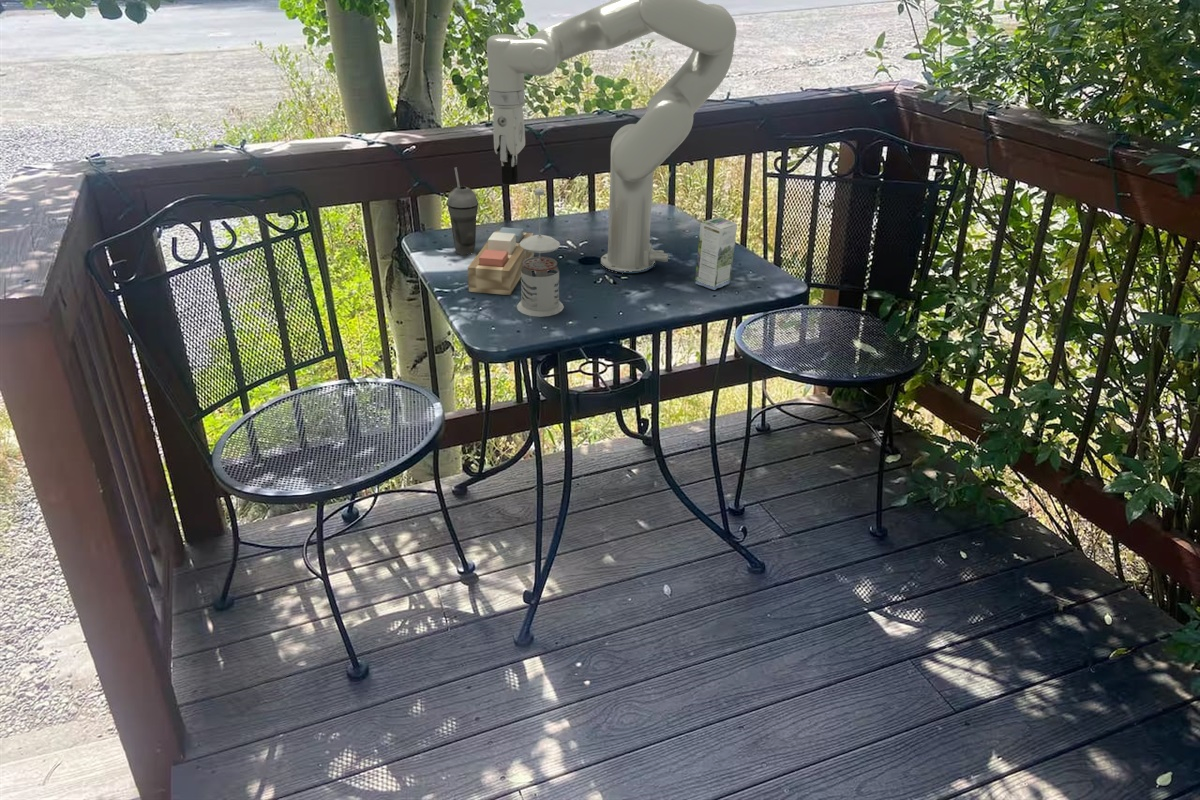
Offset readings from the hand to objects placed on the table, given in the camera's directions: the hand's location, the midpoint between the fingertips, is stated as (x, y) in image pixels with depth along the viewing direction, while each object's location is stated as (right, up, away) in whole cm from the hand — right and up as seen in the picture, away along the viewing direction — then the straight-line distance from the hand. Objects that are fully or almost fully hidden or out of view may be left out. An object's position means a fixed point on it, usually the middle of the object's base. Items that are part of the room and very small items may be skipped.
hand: (510, 183), depth 197 cm
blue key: (-1, -13, +8) cm, 15 cm away
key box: (-2, -20, +3) cm, 20 cm away
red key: (-3, -21, -5) cm, 21 cm away
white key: (-2, -16, 0) cm, 16 cm away
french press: (+7, -29, -12) cm, 32 cm away
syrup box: (+45, -23, 0) cm, 50 cm away
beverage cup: (-12, -13, +14) cm, 23 cm away
